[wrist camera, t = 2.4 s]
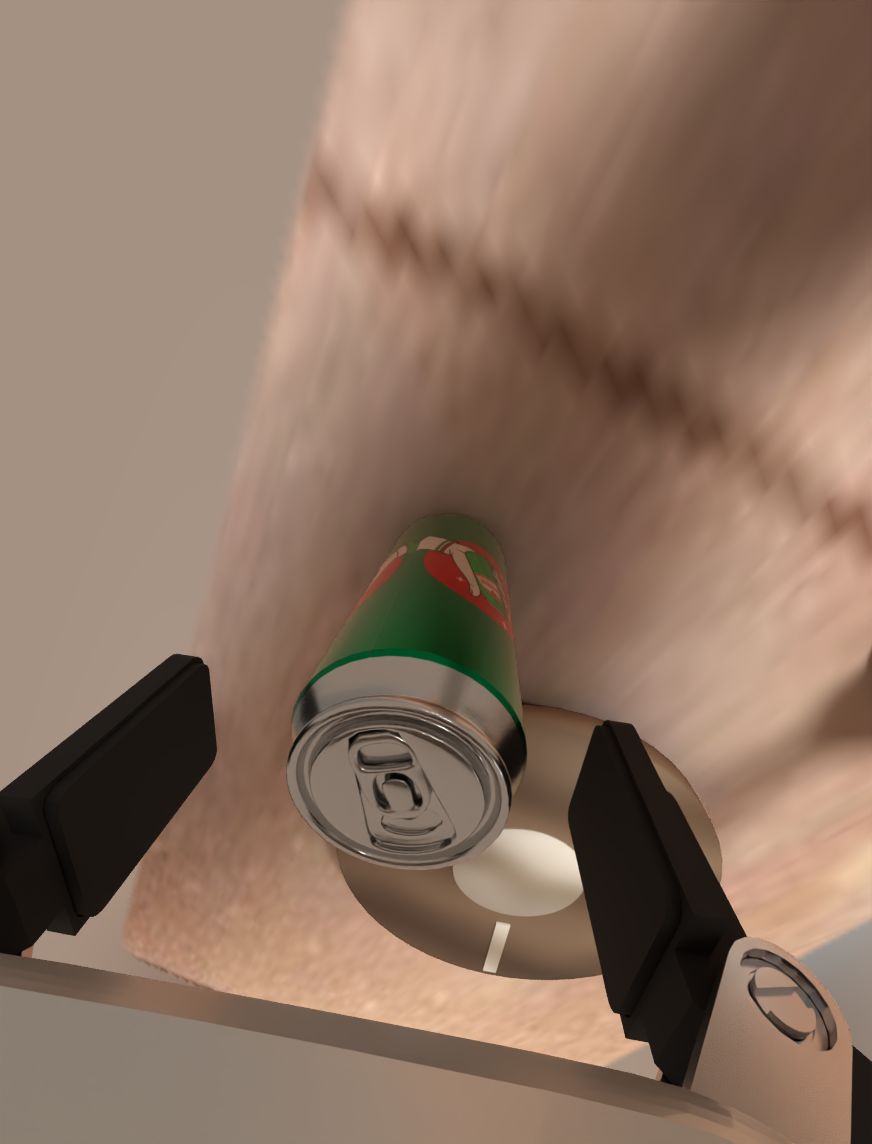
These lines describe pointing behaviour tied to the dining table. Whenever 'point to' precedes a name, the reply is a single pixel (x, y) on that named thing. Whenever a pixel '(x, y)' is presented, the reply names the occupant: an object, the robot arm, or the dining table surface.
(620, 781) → the robot arm
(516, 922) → the turntable
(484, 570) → the soda can
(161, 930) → the dining table surface
